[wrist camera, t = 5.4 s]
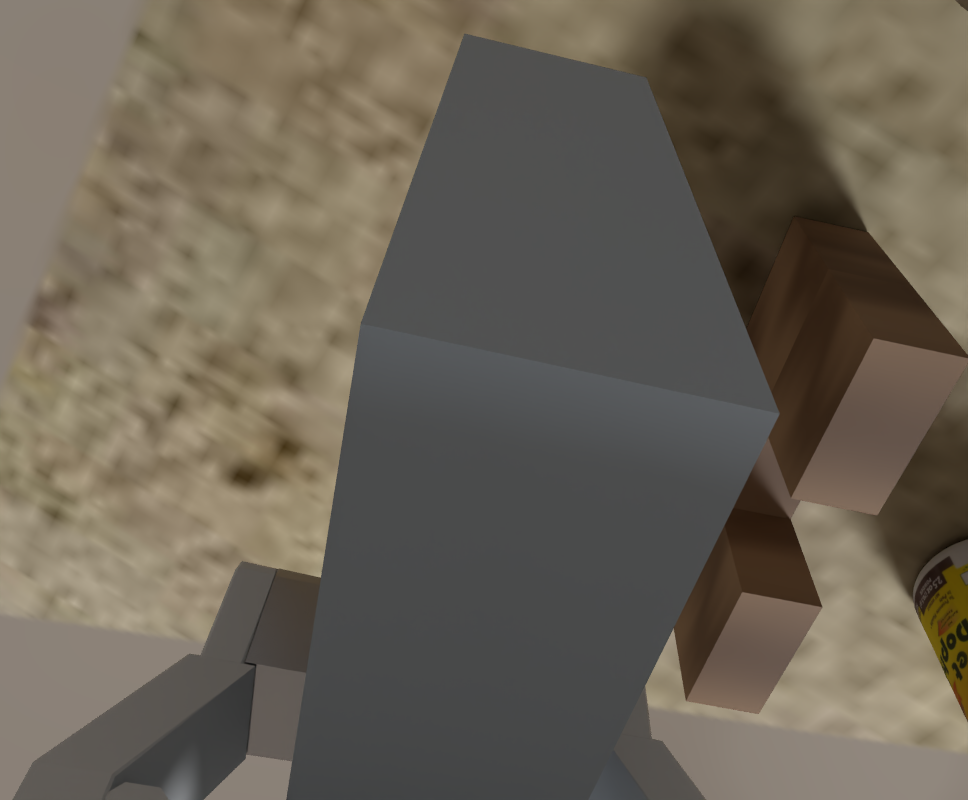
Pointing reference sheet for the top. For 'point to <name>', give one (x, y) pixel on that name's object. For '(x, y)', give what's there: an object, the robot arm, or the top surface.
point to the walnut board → (813, 447)
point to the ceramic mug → (963, 3)
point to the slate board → (525, 446)
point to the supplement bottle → (947, 614)
